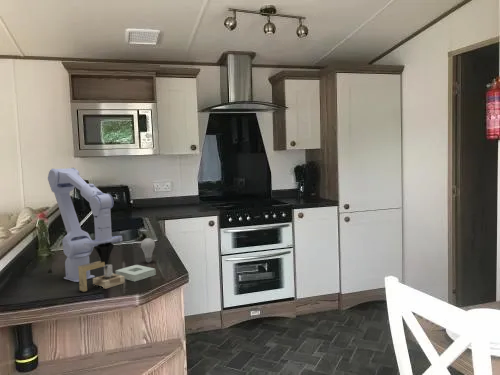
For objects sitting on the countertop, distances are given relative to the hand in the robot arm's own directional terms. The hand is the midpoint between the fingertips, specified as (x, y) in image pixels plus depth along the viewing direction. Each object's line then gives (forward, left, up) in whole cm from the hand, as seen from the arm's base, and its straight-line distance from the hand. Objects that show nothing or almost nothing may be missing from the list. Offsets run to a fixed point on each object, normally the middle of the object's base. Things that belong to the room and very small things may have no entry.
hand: (104, 263), depth 145 cm
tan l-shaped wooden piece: (0, -5, -7) cm, 9 cm away
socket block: (0, +1, -8) cm, 8 cm away
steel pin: (0, +1, -8) cm, 8 cm away
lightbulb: (-12, +29, -8) cm, 33 cm away
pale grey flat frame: (0, +13, -8) cm, 15 cm away
